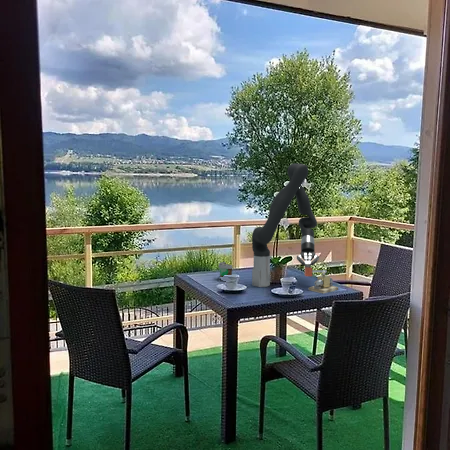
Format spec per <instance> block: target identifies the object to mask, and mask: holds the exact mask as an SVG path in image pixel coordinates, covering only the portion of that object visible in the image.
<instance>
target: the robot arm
mask: <svg viewBox="0 0 450 450" xmlns="http://www.w3.org/2000/svg"><path fill="white" fill-rule="evenodd" d="M308 174H309V167H308V165H306V164H303V163H291V164H290V165H289V166H288V168H287V175H288V179H289V182H287V184H286V185H285V186H284V187H283V188H282V189H280V190H279V191H278V192H277V194H276V195H275V197H274V198H273V200H272V202H271V204H270V207H269V212H268V217H267V219H266V221H265V223H264V225H263V226H257V227H255V228H254V229H253V231H252V235H251V245H252V246H251V247H252V251H253V268H252V269H251V275H252V278H251V286H253V287H258V288H266V287H269V286H270V284H271V280H270V277H271V275H270V274H271V251H270V249H269V248H268V247H269V246H268V244H270V243H271V241H272V240H273V238H274V235H275V233H276V231H277V229H278V226H279V224H280V223H281V220H282V219H283V217H284V215H285V214H286V212H287V210H288V208H289V206H290V205H291V202H292V200H293V199H294V198H296V203H297V206H298V207H297V208H298V213H299V214H301V215H306V216H305V217H300V218H299V220H298V226H299V228H300V232H301V233H300V234H301V241H300V254H299V255H296V260H297V262H298V263H300V264H301V265H302V266H304V268H305V267H311V266H314V265H315V264H316V263H317V262H318V261H319V260H320V256H319V255H316V252H315V233H314V230H313V229H314V228H316V227H317V225H318V221H317V218H316V216H315V215H314V213H313V210H312V207H311V201H310V199H309V196H308V193H307V192H306V190H305V188H304V187H300V186H301V184H302V185H303V183H304V181H305V180H306V178H307V177H308V176H309V175H308ZM299 187H300V189H299Z"/></svg>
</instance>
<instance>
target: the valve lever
mask: <svg viewBox="0 0 450 450" xmlns="http://www.w3.org/2000/svg"><path fill="white" fill-rule="evenodd" d="M313 273H320V274H321V273H322V275H321V276H326V273H327V270H326V269H321V270H320V269H319V270H317V269H316V270H314V269H313V267H311V266H310V267H305V266H304V276H305V277H313ZM327 274H328V273H327Z"/></svg>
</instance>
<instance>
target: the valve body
mask: <svg viewBox="0 0 450 450" xmlns="http://www.w3.org/2000/svg"><path fill="white" fill-rule="evenodd" d="M333 282H334V281H333V278H332V277H331V276H330V275H329V276H328V275H325V276H322V275H318V276H317V279H316V280H315V281H314V282H313V283H314V285H313V286H314V288H315V289H321V287H322V288H325V287H331V286H334V285H333Z"/></svg>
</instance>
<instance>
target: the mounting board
mask: <svg viewBox="0 0 450 450" xmlns="http://www.w3.org/2000/svg"><path fill="white" fill-rule="evenodd" d="M314 286H315V285H313V286H310V287H308V291H311V292H315V293H319V294H327V293H331V292H335V290H336V291H339V287H338V286H335V285H333V286H331V287H325V288H322V287H321V289H315V288H314Z"/></svg>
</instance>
